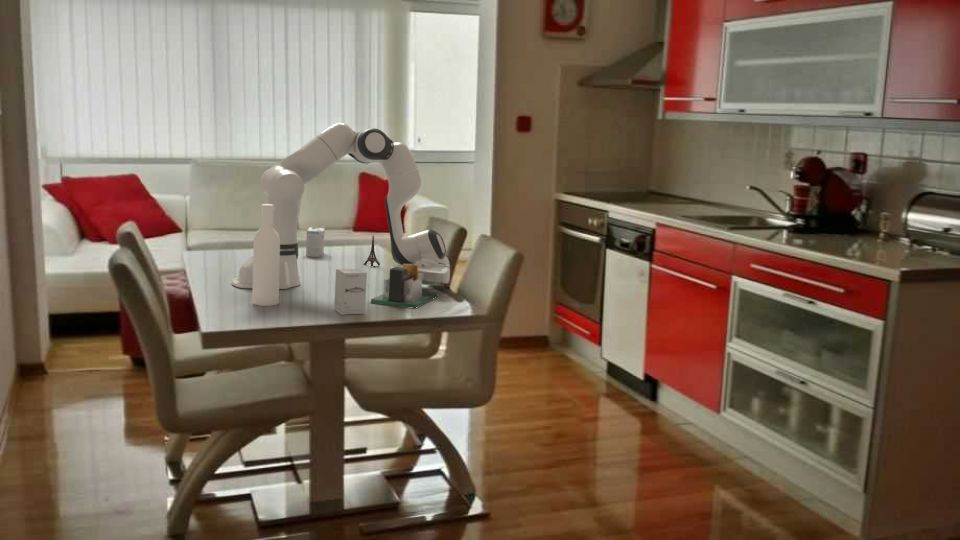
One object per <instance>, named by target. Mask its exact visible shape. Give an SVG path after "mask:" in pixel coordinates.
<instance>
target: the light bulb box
mask: <svg viewBox="0 0 960 540" xmlns="http://www.w3.org/2000/svg"><path fill="white" fill-rule="evenodd" d="M305 242H306V243H305V244H306V245H305V246H306V247H305V257H318V258H321V257H323V254H324V251H325V246H324V245H325V227H310V226H309V227H308V229H307V230H306V241H305Z"/></svg>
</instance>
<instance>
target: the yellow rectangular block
mask: <svg viewBox="0 0 960 540" xmlns="http://www.w3.org/2000/svg"><path fill="white" fill-rule="evenodd" d="M403 268H408V272H407V275H405V276H404V279H405V280H407V279H409V278H411V277H412V278H414V281H415V280H417V279H418V265H414V264H403Z"/></svg>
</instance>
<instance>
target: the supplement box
mask: <svg viewBox="0 0 960 540" xmlns="http://www.w3.org/2000/svg"><path fill="white" fill-rule="evenodd" d="M367 276H368V272H366V271H364V270H362V269H360V268H336V269H335V282H334V284H335V285H334V305H333V306H334V311H335V312H337V313H338V314H340V315H341V316H344V315H365V314H366V299H367V296H366V295H367V282H368V279H367Z"/></svg>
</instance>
